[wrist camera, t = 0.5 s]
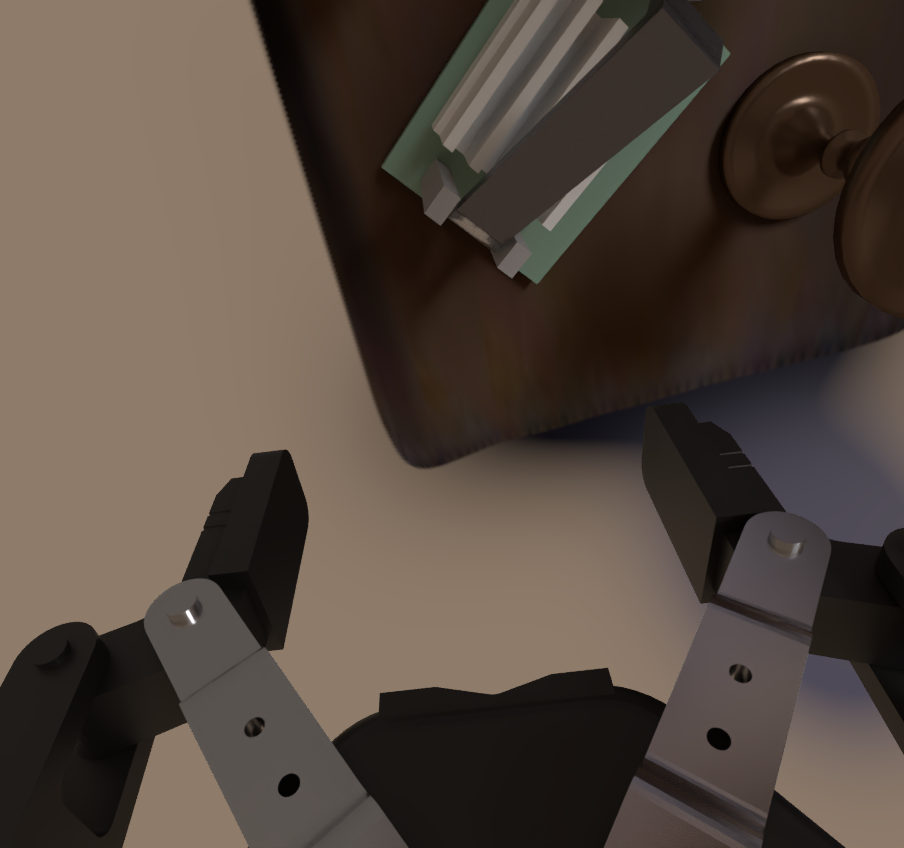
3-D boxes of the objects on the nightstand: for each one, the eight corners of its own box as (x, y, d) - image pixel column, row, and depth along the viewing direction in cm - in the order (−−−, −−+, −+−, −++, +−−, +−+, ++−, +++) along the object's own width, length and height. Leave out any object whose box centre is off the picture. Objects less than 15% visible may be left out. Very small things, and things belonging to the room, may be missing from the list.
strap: (669, -21, 21) (661, 9, 20) (723, 41, 22) (719, 72, 21) (456, 196, 32) (445, 221, 31) (500, 230, 33) (491, 255, 32)
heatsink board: (566, -122, 29) (619, -167, 22) (722, 53, 34) (807, 61, 27) (382, 164, 36) (377, 199, 29) (534, 278, 40) (562, 333, 33)
